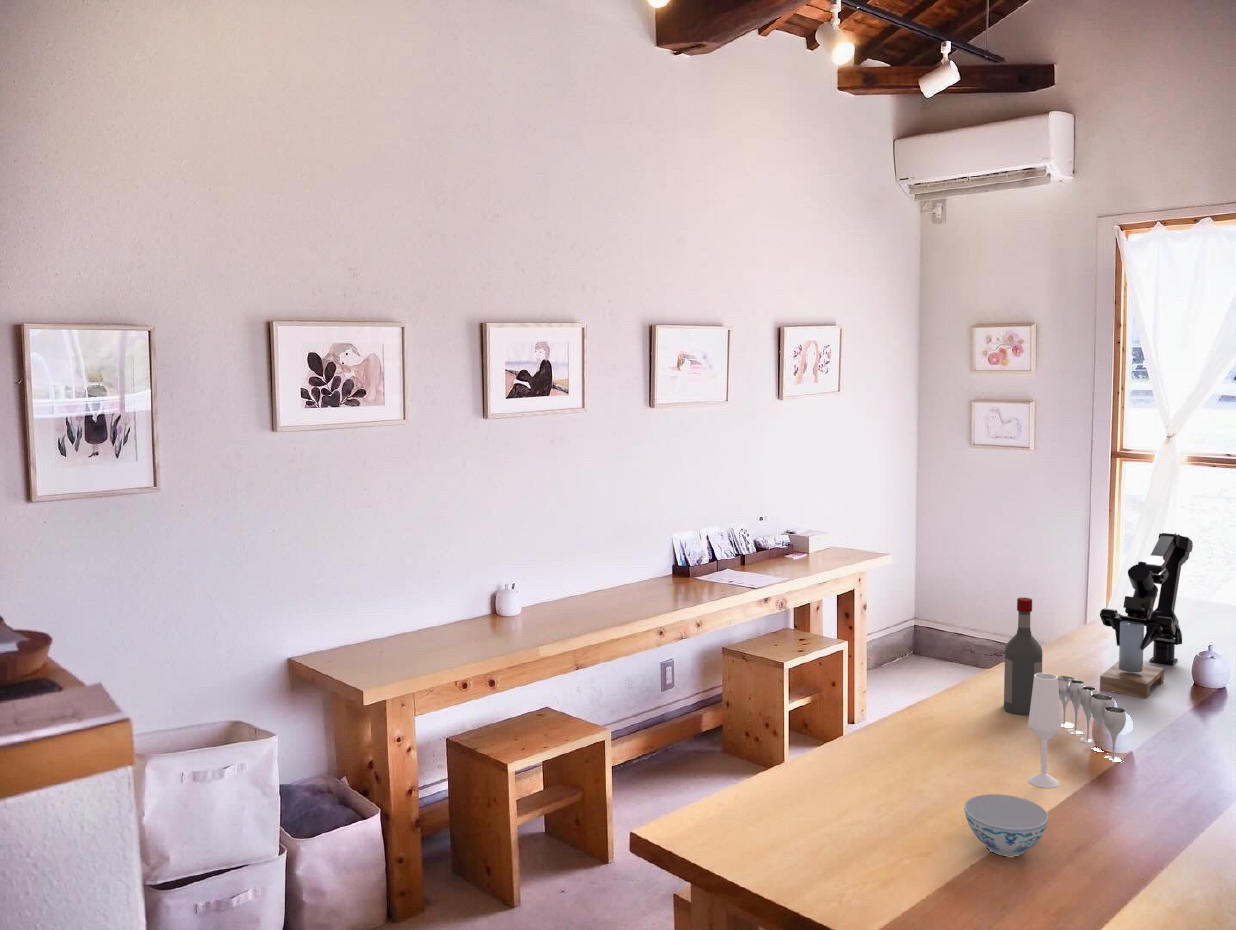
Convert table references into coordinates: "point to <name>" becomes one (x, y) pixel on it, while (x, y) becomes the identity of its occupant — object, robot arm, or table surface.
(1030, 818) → the chinaware
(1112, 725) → the goblet set
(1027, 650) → the liquor
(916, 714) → the table surface
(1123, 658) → the tall grey cylinder
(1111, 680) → the riser
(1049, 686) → the champagne flute
